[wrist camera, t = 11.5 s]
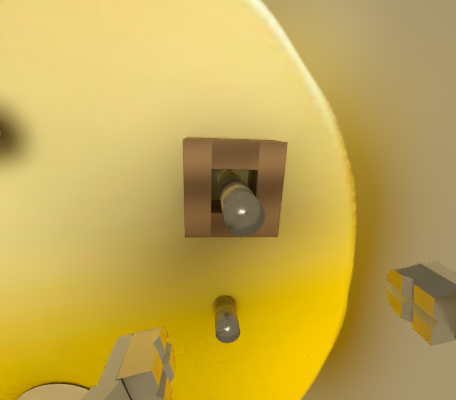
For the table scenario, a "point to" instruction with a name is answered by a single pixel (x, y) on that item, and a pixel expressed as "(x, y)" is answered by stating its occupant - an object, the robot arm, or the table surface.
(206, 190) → the hole block
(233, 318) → the short pin
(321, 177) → the table surface
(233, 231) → the long pin
